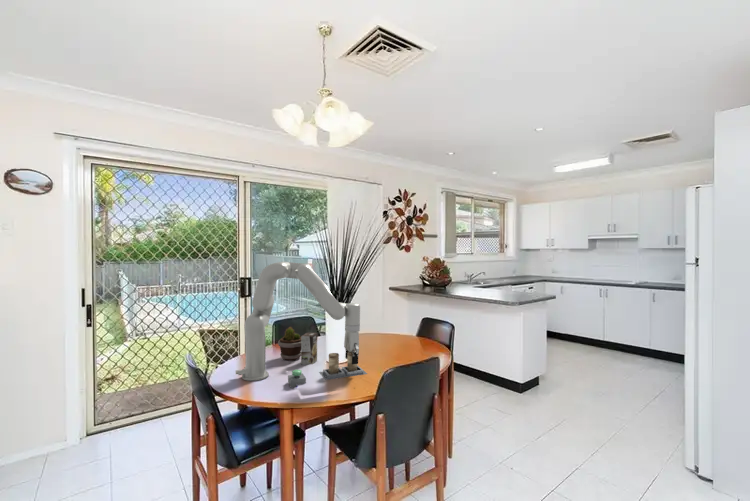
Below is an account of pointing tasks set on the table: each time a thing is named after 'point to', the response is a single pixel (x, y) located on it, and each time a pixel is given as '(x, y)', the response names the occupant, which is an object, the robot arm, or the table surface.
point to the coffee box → (308, 348)
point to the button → (296, 373)
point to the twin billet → (333, 363)
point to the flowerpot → (290, 345)
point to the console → (296, 380)
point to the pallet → (342, 373)
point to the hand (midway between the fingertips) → (351, 361)
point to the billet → (350, 362)
